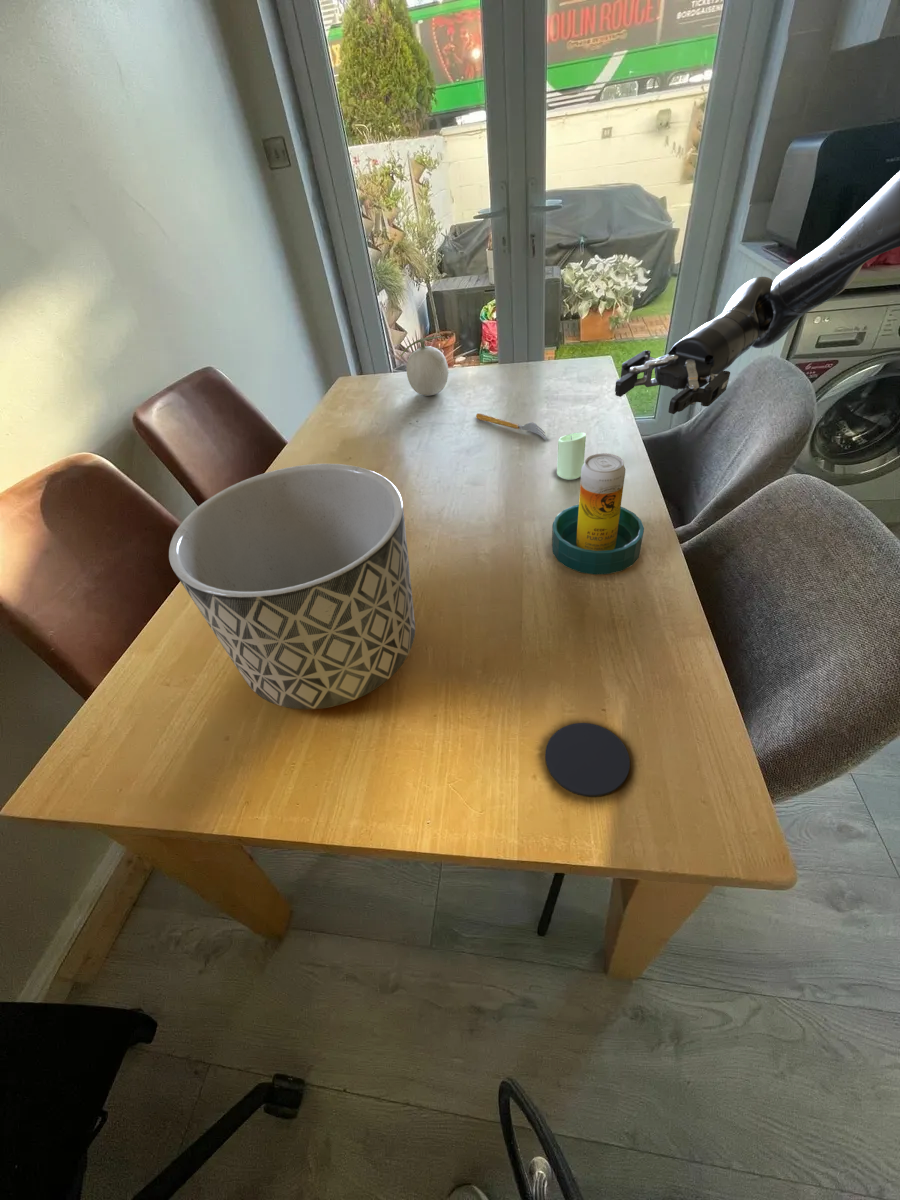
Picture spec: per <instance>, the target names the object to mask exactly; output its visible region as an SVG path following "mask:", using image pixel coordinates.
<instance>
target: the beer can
mask: <svg viewBox="0 0 900 1200" xmlns="http://www.w3.org/2000/svg"><path fill="white" fill-rule="evenodd" d="M625 477H626V467H625V464H624V460H623V459H622V457H620V456H619V455H616V454H614V453H613V454H612V453H606V452H605V453H604V452H603V453H602V452H601V453H595V454H592V455H589V456H588V457H587V458H586V459H584V465H583V466H582V470H581V477H580V486H579V496H578V497H579V500H578V505H579V511H578V525H577V539H576V545H577V547H580V548H582V549H588V550H595V551H602V550H613V549H614V548H615V546H616V539H617V531H618V524H619V516H620V508H621V507H622V501H623V492H624V486H625Z"/></svg>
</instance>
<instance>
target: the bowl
mask: <svg viewBox="0 0 900 1200" xmlns="http://www.w3.org/2000/svg"><path fill="white" fill-rule="evenodd" d="M578 511H579V504H575V505H572V506H570V507H568V508H565V509H563V510H562V511H560V512H559V513H558V514H557V515H556V516H555V518H554V520H553V522H552V528H551V550H552V554H553V555H554V558H555V559H556V560H557V562H559V563H560V564H561V565H563V566H564V567H565V568H568V569H571V570H573V571H575V572H579V573H581V574H589V575H595V576H596V575H611V574H615V573H620V572H623V571H625V570H626V569H628V568H630V567H632V566H633V565H634V564H635V563H636V562H637V561H638V560H639V558H640V555H641V549H642V545H643V544H642V543H643V538H644V532H645V526H644V524H643V521H642V520H641V518H640V517H638V515H637V514H636V513H634V512H633V511H631V510H629V509H627V508H626V507H623V506H621V508H620V516H619V524H618V531H617V539H616V546H615V548H614V549H613V550H602V551H595V550H588V549H582V548H580V547H577V545H576V539H577V525H578Z"/></svg>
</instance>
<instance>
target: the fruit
mask: <svg viewBox="0 0 900 1200" xmlns="http://www.w3.org/2000/svg"><path fill="white" fill-rule="evenodd" d="M440 338H443V335H439V336H427V337H422V338H419V339H418V340H415V341H414V342H412V343H410V344H409V345H408V346H407V347H406V348H404V350H403V351H402V353H401V354H400V358H402V357H403V355H404V354H405V352H406V351H407V350H408V349H409V348H411V347H412V346H414V345H416V344H418V343H420V347H418V348H417V349H415V350H414V351H412V352H411V353H410V355H409V357H408V358H407V361H406V376H407V381H408V383H409V385H410V387H411V388H412V390H413V391H414V392H415V393H417V394H419V395H421V396H426V397H427V396H428V397H429V396H435V395H437V394H439V393H440V392H442V390H444V388H445V387H446V385H447V382H448V379H449V365H448V361H447V359H446V356H445V355H444V354H443V352H442V351H441V350H440V349H438V348H437V347H434V346H430V345H425V341H428V340H434V339H440Z"/></svg>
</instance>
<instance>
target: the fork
mask: <svg viewBox="0 0 900 1200" xmlns="http://www.w3.org/2000/svg"><path fill="white" fill-rule="evenodd" d="M475 418H476V419H477V420H480V421H483V422H488V423H492V424H496V425H500V426H504V427H508V428H513V429H516V430H519V431H529V432H532V433H535V434H537V435H539V436H541V438H543V439H544V440H547V439H546V434H545V433H546V432H545V431H544V430H543V429H542V427H540V426H539V425H538V424H537V423H535V422H533V421H530V422H527V423H525V424H523V425H521V424H518V423H514V422H513V421H508V420H505V419H502V418H497V417H494V416H491V415H487V414H484V413H482V412H481V413H480V412H477V413H476V415H475Z"/></svg>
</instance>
